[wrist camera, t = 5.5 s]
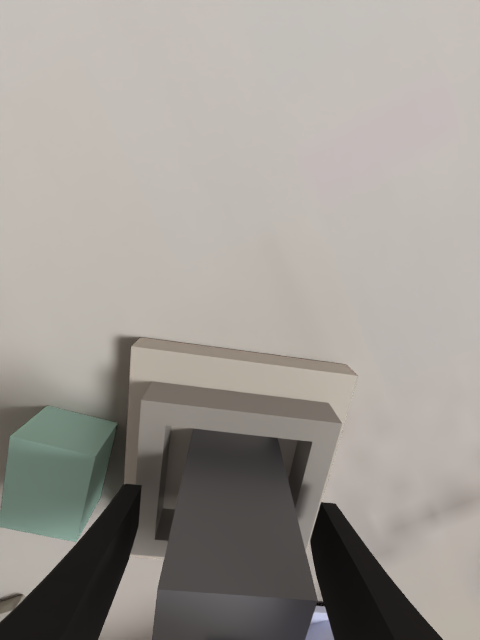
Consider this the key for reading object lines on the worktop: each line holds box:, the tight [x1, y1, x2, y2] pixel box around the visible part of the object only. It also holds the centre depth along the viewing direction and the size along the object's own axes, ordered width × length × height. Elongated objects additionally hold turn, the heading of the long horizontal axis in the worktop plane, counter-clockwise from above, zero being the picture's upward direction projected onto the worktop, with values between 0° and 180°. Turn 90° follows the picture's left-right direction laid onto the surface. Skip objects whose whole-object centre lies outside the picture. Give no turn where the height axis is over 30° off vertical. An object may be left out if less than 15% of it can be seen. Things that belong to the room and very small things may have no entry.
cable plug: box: [0, 406, 118, 542], centre depth 13 cm, size 4×6×2 cm, turn 162°
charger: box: [152, 429, 318, 640], centre depth 10 cm, size 4×4×6 cm
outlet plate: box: [124, 337, 358, 560], centre depth 13 cm, size 10×12×3 cm
